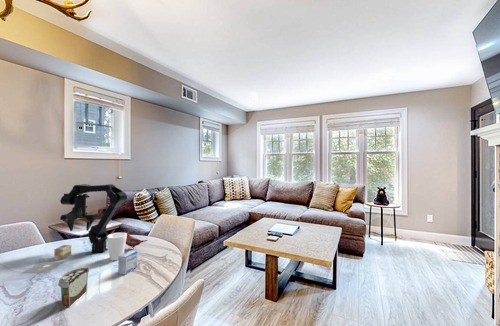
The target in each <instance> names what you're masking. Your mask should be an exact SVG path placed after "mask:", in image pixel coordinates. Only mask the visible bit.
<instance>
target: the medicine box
mask: <svg viewBox="0 0 500 326" xmlns="http://www.w3.org/2000/svg"><path fill="white" fill-rule="evenodd" d="M117 264H118V269H117V272H118V273H119V274H118V273H117V274H118V275H125V274H126V275H128V274H129V273H131V272H132V271H134V270H135V269H137V268H138V251H137V250H134V249H130V250H129V251H126V252H124V254H122V255H120V256H119V257H118V260H117ZM136 267H137V268H136ZM134 268H135V269H134ZM133 269H134V270H133ZM131 270H132V271H131ZM130 271H131V272H130ZM128 272H129V273H128ZM127 273H128V274H127Z"/></svg>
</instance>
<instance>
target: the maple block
mask: <svg viewBox="0 0 500 326" xmlns="http://www.w3.org/2000/svg"><path fill="white" fill-rule="evenodd" d="M53 254H54V255H53V259H54V261H55V260H57V261H58V260H59V261H60V260H63V261H64V260H65V259H67V258H68V257H70V256H72V244H63V245H61V246H59V247H56V248H54V253H53Z"/></svg>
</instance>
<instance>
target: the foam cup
mask: <svg viewBox="0 0 500 326" xmlns="http://www.w3.org/2000/svg"><path fill="white" fill-rule="evenodd" d="M126 233H127V232H113V233H110V234H108V236H107V246H108V247H107V248H108V255H109V260H110V261H112V262H113V260H116V261H118V257H119V256H120V255H122V254H124V253H125V248H126V238H127V234H126Z"/></svg>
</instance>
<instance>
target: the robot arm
mask: <svg viewBox="0 0 500 326" xmlns="http://www.w3.org/2000/svg"><path fill="white" fill-rule="evenodd" d="M93 192H105V193H106V195H107V197H108V198H109V202H108V203H109V205H108V207H107V208H106V210H105V211H104V213H103V215H102V217H101V218H100V219H99V221H98V223H97V224H94V225H92V224H93V223H94V221H95V220H97V219H98V218H99V214H98V213H94V212H93V213H89V214H88V212H87V208H88V206H87V198H90V195H88V193H93ZM127 199H128V195H127V193H126V192H124V191H123V190H122V189H120V188H118V187H117V186H116V185H114V184H113V183H110V184H99V185H98V184H97V185H91V184H85V183H82V184H75V185H73V186H72V189H71V190H70V192H69V193H67V192H66V193H63V196H61V198H60V204H61V205H67V206H73V207H72V208H71V211H69V212H67V213H64V214H62V215H61V216H60V218H59V220H60V221H62V222H64V223H66V224H67V226H68V228H69V230H70V232H72V231H73V229H74V223H75V221H76V220H77V219H86V220H85V223H86V232H88V233H87V237H88V239H89V243H90V244H91V252H90V254H103V253H105V252H106V251H109V248H108V247H107V244H108V241H107V236H108V235H109V234H108V233H107V226H108V224H109V222H111V220H112V218H113V216H114V214H115V213H116V211H117V209H118V208H119V207H120V206H121V205H122V204H124V203H125V201H127Z"/></svg>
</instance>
